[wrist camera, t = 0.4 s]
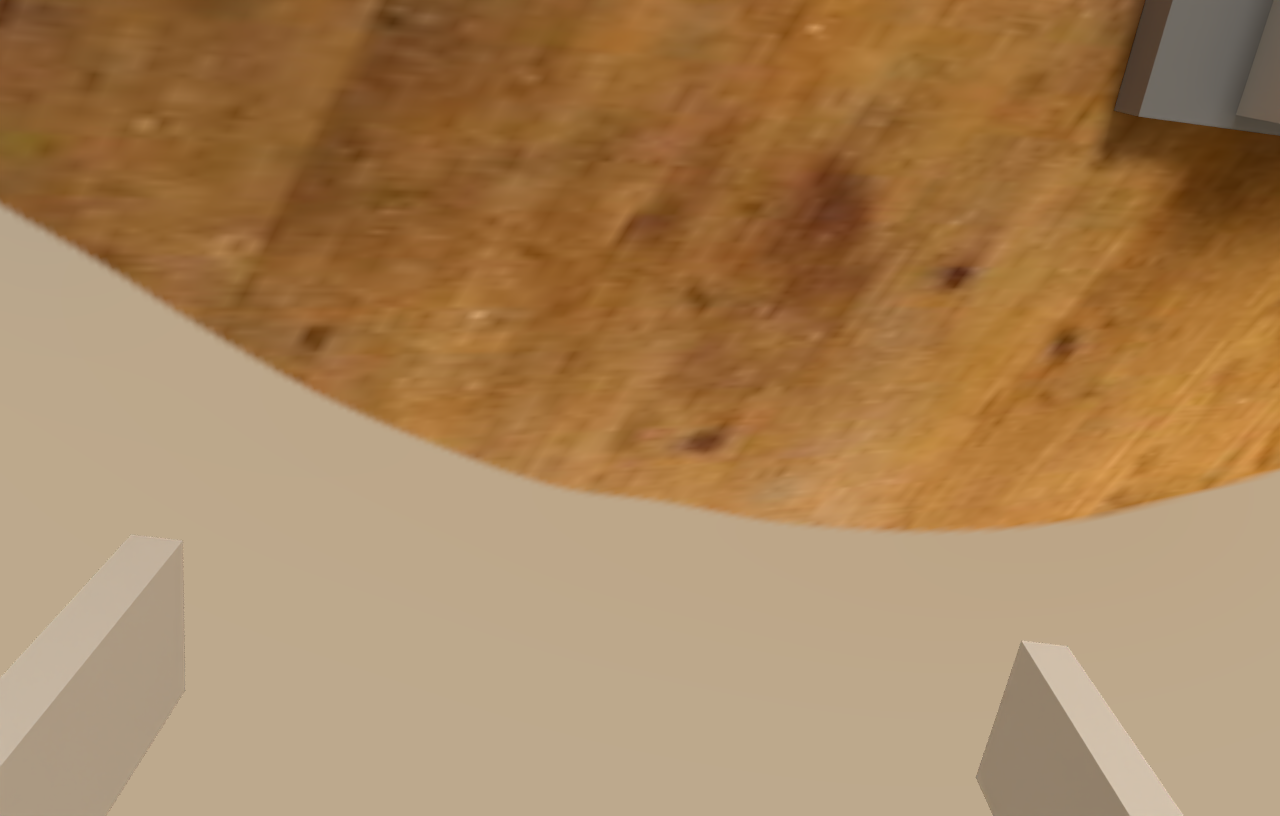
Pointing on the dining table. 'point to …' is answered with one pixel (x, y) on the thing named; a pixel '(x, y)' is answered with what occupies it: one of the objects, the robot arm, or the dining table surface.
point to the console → (1206, 64)
